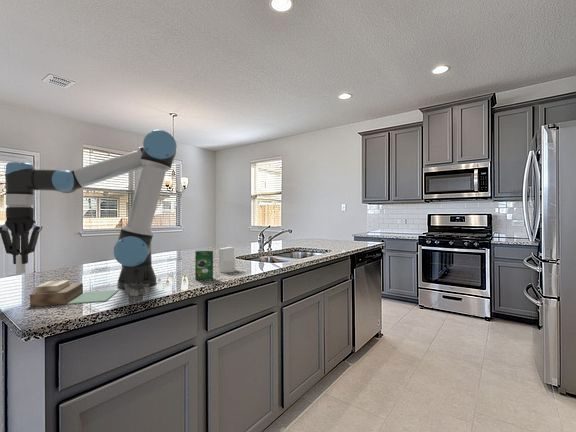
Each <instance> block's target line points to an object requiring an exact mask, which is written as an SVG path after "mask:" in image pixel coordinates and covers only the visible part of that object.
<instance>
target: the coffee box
mask: <svg viewBox="0 0 576 432" xmlns="http://www.w3.org/2000/svg"><path fill="white" fill-rule="evenodd" d="M194 255H195V256H194V257H195V260H194V261H195V262H194V263H195V266H194V271H195V274H194V275H195V280H196V281H197V280H198V281H199V280H212V279H214V250H195V253H194Z"/></svg>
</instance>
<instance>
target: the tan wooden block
mask: <svg viewBox="0 0 576 432" xmlns="http://www.w3.org/2000/svg"><path fill="white" fill-rule="evenodd" d="M83 287H84V285H83V283H70V286H68V287H66V288H64V289H62V290H60V291H54V292H39V293H35V292H33V293H30V294H29V307H41V306H53V305H55V306H56V305H68V304H67V303H69V302H70V301H72V300H73V299H75V298H76V297H78V296H80V295H81V294H83V293H84V288H83Z"/></svg>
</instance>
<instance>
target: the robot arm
mask: <svg viewBox="0 0 576 432" xmlns="http://www.w3.org/2000/svg"><path fill="white" fill-rule="evenodd" d="M176 155H177V142H176V140H175V138H174V136H172V134H171V133H169V132H168V131H166V130H164V129H154V130H151V131H149V132H148V133H147V134H146V135H145V136H144V139H143V142H142V146H139V147H138V148H137V150H134V151H132V152H131V151H130V152H128V153H124V154H122V155H118V156H115V157H111V158H109V159H106V160H102V161H98V162H95V163H93V164H89V165H85V166H82V167H80V168H77V169H73V170H67V169H66V170H63V169H39V168H37V169H36V168H34V165H33V164H32V163H30V162H20V161H11V162H8V163H6V164H5V171H4V172H5V174H4V178H5V180H4V181H5V206H7V207H6V208H5V218H6V220H5V221H4V224H2V225H1V226H0V237H1V240H2V243H3V246H4V250H5V253H6V254H10V255H12V264H13V265H15V274H16V275H22V274H25V273H26V264H28V263H29V254H32V253H34V252H35V250H36V247H37V242H38V239H39V234H40V232H41V231H42V229H43V226H42V225H38V224H36V222H35V220H34V215H35V214H34V213H35V212H34V211H35V210H34V207H33V206H34V192H35V191H53V192H58V193H62V194H71V193H75V192H76V191H77V190H80V189H83V188H86V187H88V186H92V185H95V184H97V183H100V182H103V181H107V180H109V179H110V180H111V179H112V178H115V177H119V176H122V175H126V174H128V173H132V172H135V171H138V170H141V172H140V176H139V179H138V183H137V187H136V189H135V194H134V198H133V201H132V205H131V208H130V212H129V216H128V219H127V223H126V225H124V226H123V227H121V229H120V232H119V235H118V239H117V242H116V243H115V244H114V247H113V256H114V258H115V260H116V262H117V263H119V264H121V270H120V272H119V275H118V279H117V288H120V289H125V286H124V284H132V283H134V284H135V283H137V284H140V283H142V284H148V283H149V284H150V285H149V286H148V287H150V286H154V285H155V284H156V283H157V277H156V274H155V271H154V268H153V264H152V240H153V237H154V233H153V232H152V231H151V230H152V229H151V228H152V224H153V220H154V218H155V217H154V216H155V213H156V209H157V206H158V202H159V200H160V199H159V198H160V194H161V191H162V187H163V184H164V180H165V176H166V173H167V172H168V171H170V170H171V169H172V167H173V162H174V159H175V157H176ZM31 230H32V231H31ZM9 231H10V233H9ZM30 231H31V233H30ZM29 235H30V239H29Z"/></svg>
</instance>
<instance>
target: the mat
mask: <svg viewBox="0 0 576 432" xmlns="http://www.w3.org/2000/svg"><path fill="white" fill-rule="evenodd" d="M119 291H120V289H106V290H92V291H91V290H90V291H83V294H81V295H80V296H78V297H76V298H75V299H73V300H72V301H70V302H69V303H67V304H66V305H77V304H79V305H80V304H89V303H90V304H91V303H102V302H103V303H104V302H107V301H108V300H109V299H111V298H112V297H113V296H114V295H115V294H117V293H118V292H119Z"/></svg>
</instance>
